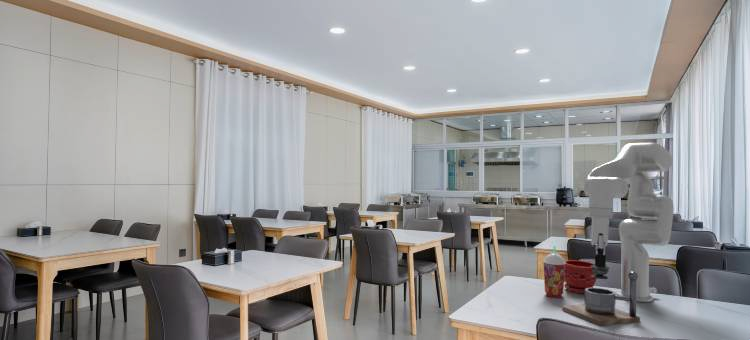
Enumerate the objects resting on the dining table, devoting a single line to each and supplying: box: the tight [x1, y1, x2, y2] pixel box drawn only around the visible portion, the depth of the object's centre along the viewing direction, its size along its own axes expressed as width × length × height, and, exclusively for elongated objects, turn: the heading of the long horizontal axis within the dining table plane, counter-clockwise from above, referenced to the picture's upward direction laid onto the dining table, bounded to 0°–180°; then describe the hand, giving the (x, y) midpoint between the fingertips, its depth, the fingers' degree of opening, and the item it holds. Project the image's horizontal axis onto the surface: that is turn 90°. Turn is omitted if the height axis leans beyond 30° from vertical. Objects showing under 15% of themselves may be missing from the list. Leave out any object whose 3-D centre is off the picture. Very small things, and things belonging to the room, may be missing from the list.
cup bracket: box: [561, 271, 641, 327], centre depth 150 cm, size 17×17×16 cm
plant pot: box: [564, 259, 597, 295], centre depth 183 cm, size 13×13×12 cm
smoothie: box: [542, 245, 566, 299], centre depth 175 cm, size 8×8×20 cm
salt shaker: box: [591, 254, 610, 280], centre depth 151 cm, size 6×6×12 cm
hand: (600, 264), depth 151 cm, fingers closed on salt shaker, 4 cm apart
